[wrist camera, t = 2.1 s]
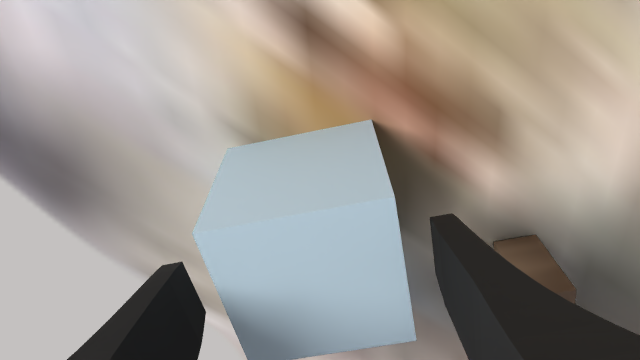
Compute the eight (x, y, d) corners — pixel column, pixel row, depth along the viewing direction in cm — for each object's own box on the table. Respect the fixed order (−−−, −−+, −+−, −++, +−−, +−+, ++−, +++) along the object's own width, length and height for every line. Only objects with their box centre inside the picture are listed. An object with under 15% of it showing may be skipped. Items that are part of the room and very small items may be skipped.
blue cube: (371, 118, 14) (394, 196, 10) (390, 236, 17) (416, 340, 13) (228, 147, 15) (192, 233, 11) (266, 258, 17) (250, 365, 13)
